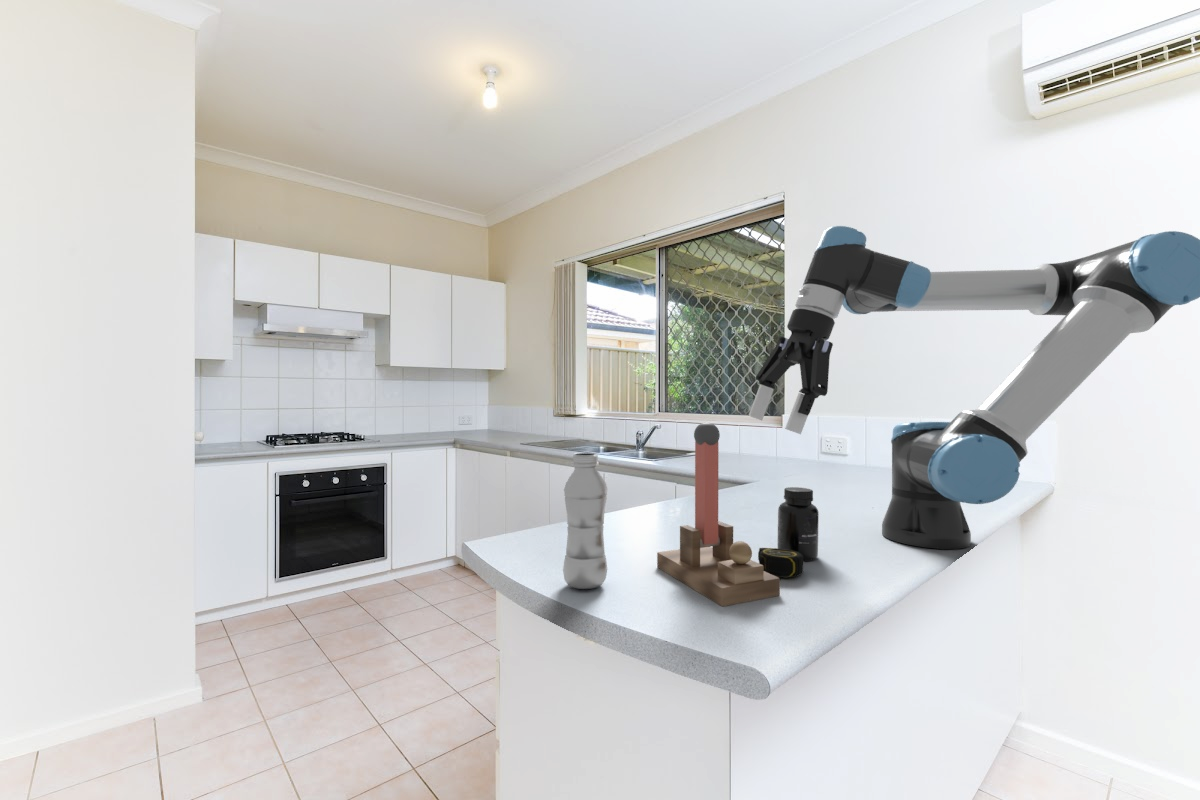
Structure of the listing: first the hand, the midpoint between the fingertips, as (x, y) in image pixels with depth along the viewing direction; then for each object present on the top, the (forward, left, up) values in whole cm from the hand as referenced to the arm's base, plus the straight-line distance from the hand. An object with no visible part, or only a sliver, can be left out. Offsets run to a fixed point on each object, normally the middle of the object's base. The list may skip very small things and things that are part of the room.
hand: (772, 424), depth 99 cm
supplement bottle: (-4, +3, -23) cm, 24 cm away
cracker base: (+13, +15, -23) cm, 31 cm away
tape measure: (+2, +11, -24) cm, 26 cm away
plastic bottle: (+33, +19, -23) cm, 45 cm away
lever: (+14, +14, -18) cm, 26 cm away
